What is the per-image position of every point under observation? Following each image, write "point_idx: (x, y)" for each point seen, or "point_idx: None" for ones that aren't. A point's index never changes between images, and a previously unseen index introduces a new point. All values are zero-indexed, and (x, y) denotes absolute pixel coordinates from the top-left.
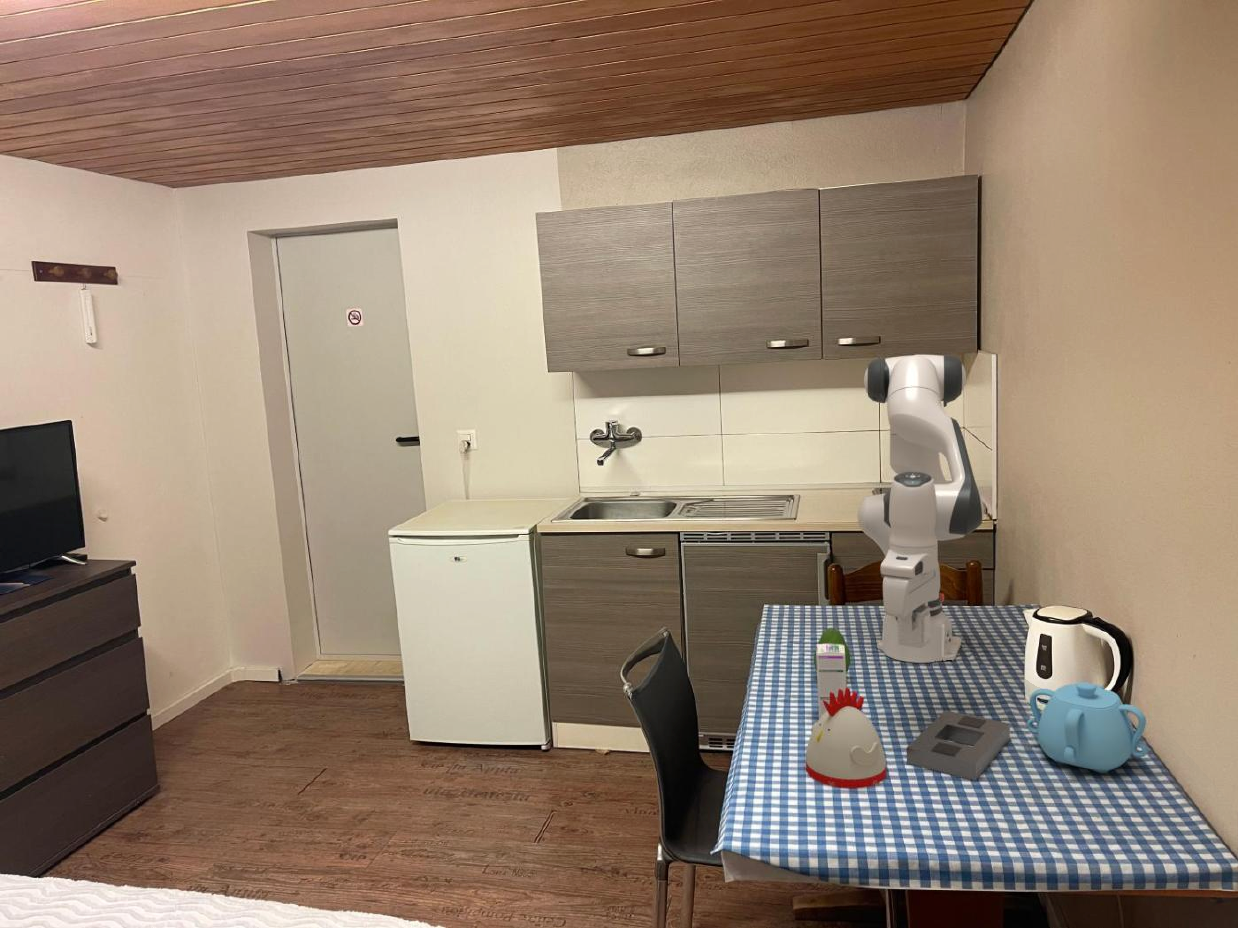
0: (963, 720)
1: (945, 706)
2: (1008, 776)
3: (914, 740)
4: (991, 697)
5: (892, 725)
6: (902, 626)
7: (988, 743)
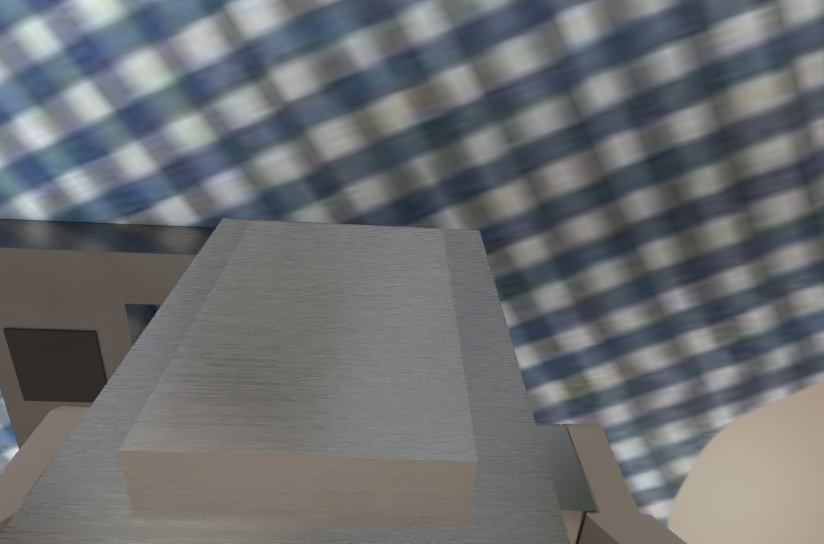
0: None
1: (629, 183)
2: None
3: (43, 250)
4: (785, 307)
5: (307, 42)
6: (26, 449)
7: None
